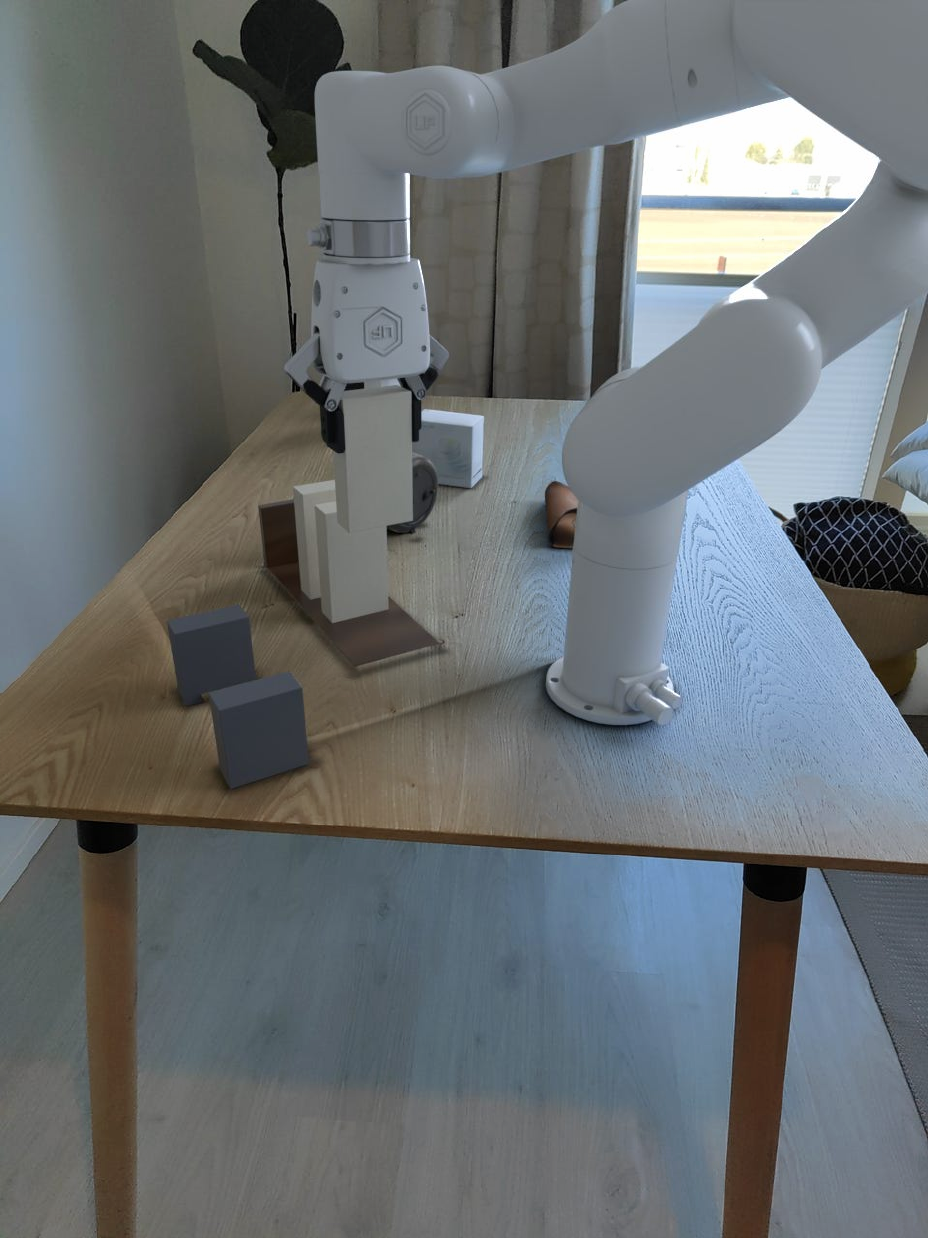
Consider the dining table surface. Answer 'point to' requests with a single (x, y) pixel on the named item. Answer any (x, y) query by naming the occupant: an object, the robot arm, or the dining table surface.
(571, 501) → the sunglasses case
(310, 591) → the cream book
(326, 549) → the cream book
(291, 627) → the dining table surface
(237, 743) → the grey book
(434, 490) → the alarm clock
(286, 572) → the book rack
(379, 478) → the cream book
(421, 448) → the cosmetics box
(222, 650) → the grey book
